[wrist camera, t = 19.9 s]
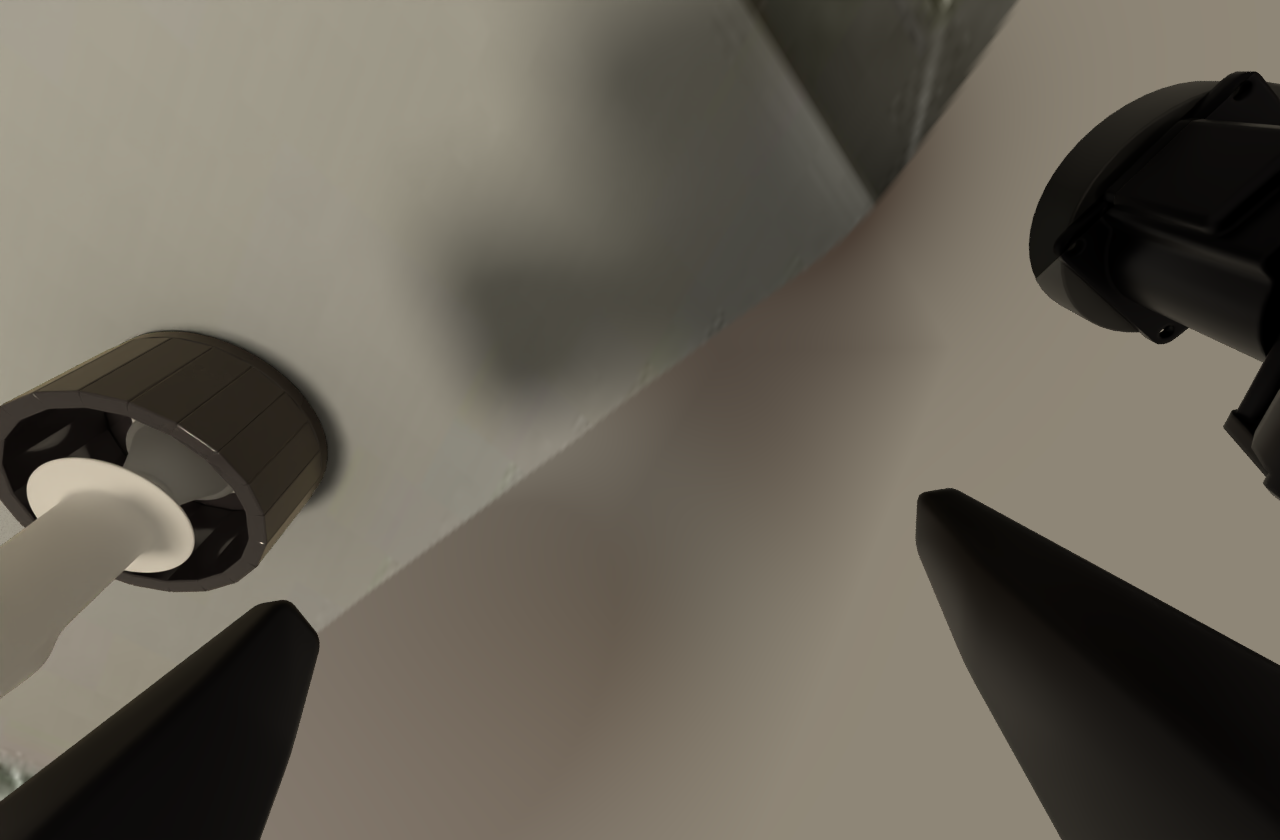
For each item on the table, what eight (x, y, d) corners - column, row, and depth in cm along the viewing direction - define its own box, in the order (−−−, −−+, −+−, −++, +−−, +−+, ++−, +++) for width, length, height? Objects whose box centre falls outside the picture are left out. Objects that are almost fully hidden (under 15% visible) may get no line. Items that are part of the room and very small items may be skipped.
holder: (357, 404, 22) (296, 476, 18) (294, 539, 25) (232, 622, 21) (116, 285, 19) (-15, 338, 15) (86, 453, 23) (-26, 529, 19)
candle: (312, 442, 22) (20, 768, 12) (239, 510, 24) (-67, 843, 13) (177, 345, 20) (-324, 639, 9) (110, 427, 21) (-372, 749, 11)
